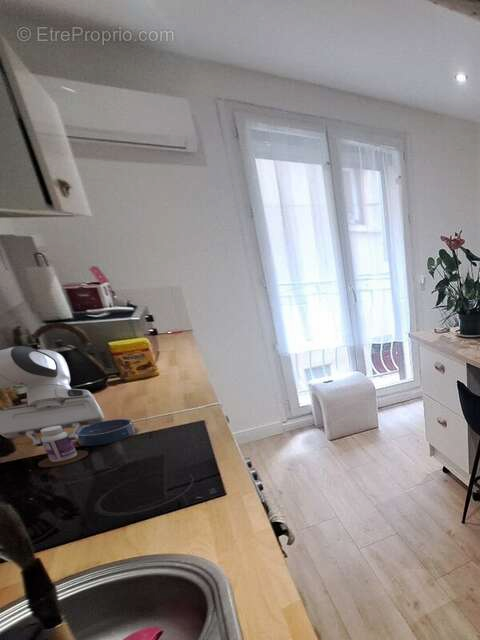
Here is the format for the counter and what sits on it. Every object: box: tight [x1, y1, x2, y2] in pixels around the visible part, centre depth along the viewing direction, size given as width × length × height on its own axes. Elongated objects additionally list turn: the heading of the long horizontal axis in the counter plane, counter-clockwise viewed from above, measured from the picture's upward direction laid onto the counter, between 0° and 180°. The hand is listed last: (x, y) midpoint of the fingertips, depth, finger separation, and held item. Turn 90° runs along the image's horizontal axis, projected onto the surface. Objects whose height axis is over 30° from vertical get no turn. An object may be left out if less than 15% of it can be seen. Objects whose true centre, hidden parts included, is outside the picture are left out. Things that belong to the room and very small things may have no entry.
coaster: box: [37, 449, 89, 468], centre depth 119 cm, size 10×10×1 cm
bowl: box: [76, 418, 137, 447], centre depth 132 cm, size 13×13×4 cm
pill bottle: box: [40, 426, 77, 462], centre depth 117 cm, size 5×5×10 cm
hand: (56, 442), depth 117 cm, fingers closed on pill bottle, 5 cm apart
